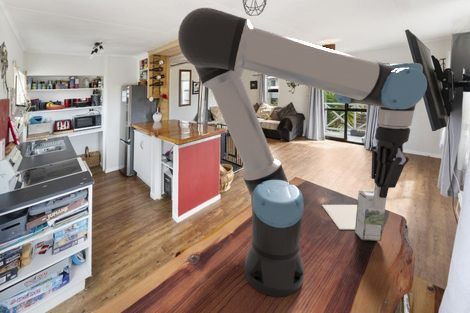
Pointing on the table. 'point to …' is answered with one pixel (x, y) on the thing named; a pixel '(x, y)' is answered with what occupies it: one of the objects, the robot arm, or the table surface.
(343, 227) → the mat
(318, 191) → the table surface
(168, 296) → the table surface
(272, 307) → the table surface
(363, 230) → the syrup box
